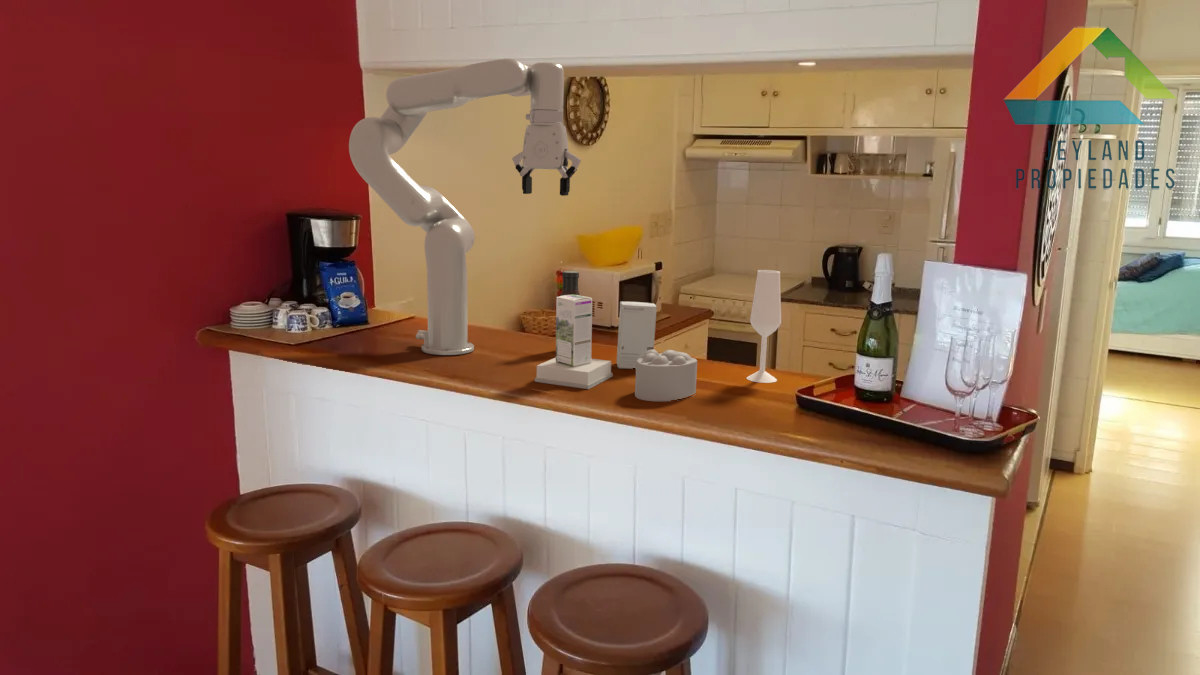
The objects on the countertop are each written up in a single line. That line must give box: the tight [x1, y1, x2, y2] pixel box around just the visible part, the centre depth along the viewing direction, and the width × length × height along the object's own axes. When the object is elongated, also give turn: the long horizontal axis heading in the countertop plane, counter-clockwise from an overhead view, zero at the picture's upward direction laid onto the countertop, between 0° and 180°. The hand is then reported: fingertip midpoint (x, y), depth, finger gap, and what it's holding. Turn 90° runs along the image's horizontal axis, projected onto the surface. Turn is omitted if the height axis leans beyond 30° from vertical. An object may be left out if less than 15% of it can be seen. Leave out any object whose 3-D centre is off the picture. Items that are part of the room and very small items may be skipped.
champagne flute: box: [746, 269, 782, 384], centre depth 189 cm, size 7×7×24 cm
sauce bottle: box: [558, 270, 581, 297], centre depth 212 cm, size 7×6×20 cm
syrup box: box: [555, 295, 593, 366], centre depth 185 cm, size 6×6×14 cm
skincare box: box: [616, 301, 657, 370], centre depth 199 cm, size 8×6×15 cm
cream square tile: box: [534, 357, 614, 390], centre depth 187 cm, size 13×13×4 cm
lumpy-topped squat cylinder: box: [634, 348, 698, 402], centre depth 176 cm, size 10×13×9 cm
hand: (545, 194), depth 202 cm, fingers open, 9 cm apart
